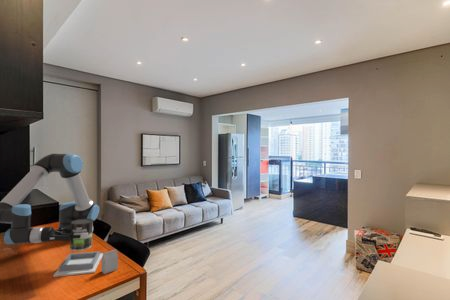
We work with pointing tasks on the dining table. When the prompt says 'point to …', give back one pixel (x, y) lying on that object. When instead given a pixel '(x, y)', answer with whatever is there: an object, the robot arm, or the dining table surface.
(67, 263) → the caddy
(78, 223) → the coffee can
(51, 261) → the dining table surface
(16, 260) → the dining table surface
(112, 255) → the white printed box
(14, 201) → the robot arm
